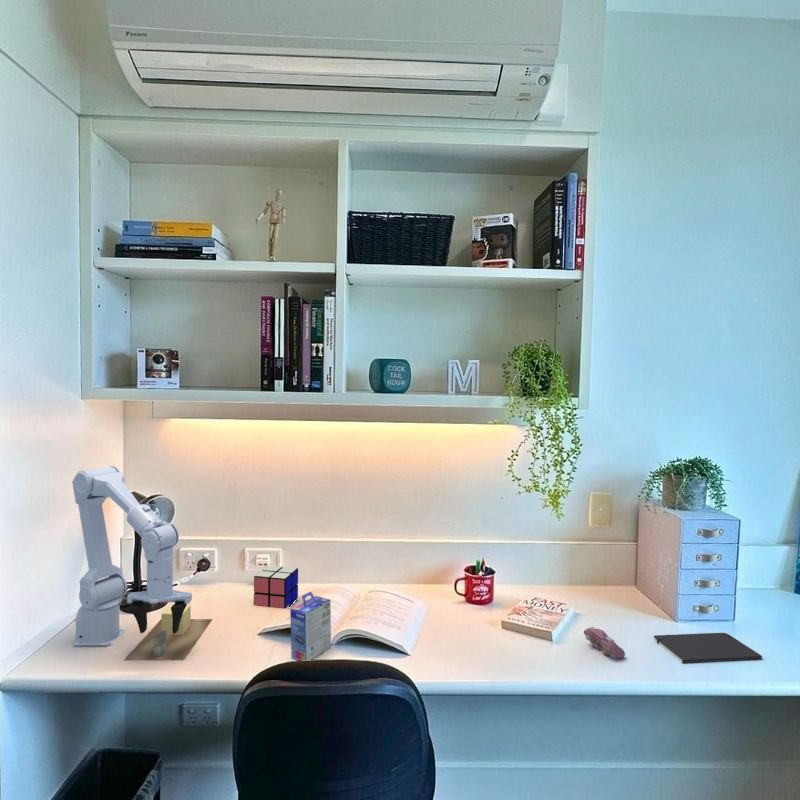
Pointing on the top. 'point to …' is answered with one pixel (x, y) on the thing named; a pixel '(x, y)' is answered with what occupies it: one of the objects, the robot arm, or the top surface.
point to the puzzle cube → (276, 587)
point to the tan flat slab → (168, 642)
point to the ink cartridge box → (310, 627)
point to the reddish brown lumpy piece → (603, 642)
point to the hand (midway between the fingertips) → (159, 631)
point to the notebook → (706, 648)
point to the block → (168, 621)
